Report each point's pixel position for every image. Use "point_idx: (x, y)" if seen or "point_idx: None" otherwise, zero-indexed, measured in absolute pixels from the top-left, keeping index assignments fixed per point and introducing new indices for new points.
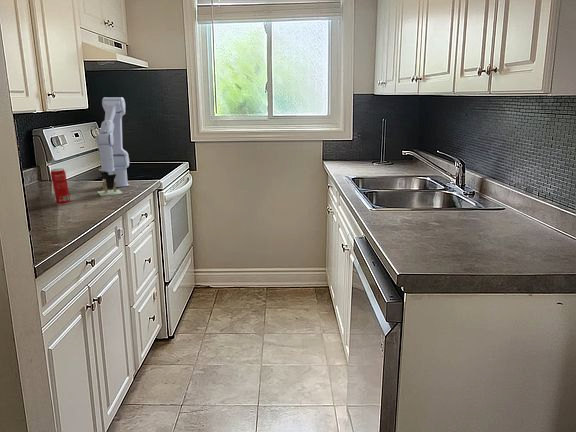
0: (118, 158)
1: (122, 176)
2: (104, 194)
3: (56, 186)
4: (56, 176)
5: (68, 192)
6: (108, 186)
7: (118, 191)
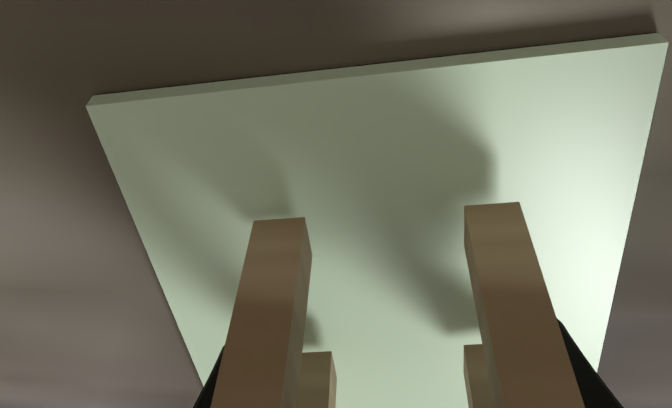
0: None
1: None
2: (174, 184)
3: None
4: None
5: None
6: (202, 403)
7: (402, 388)
